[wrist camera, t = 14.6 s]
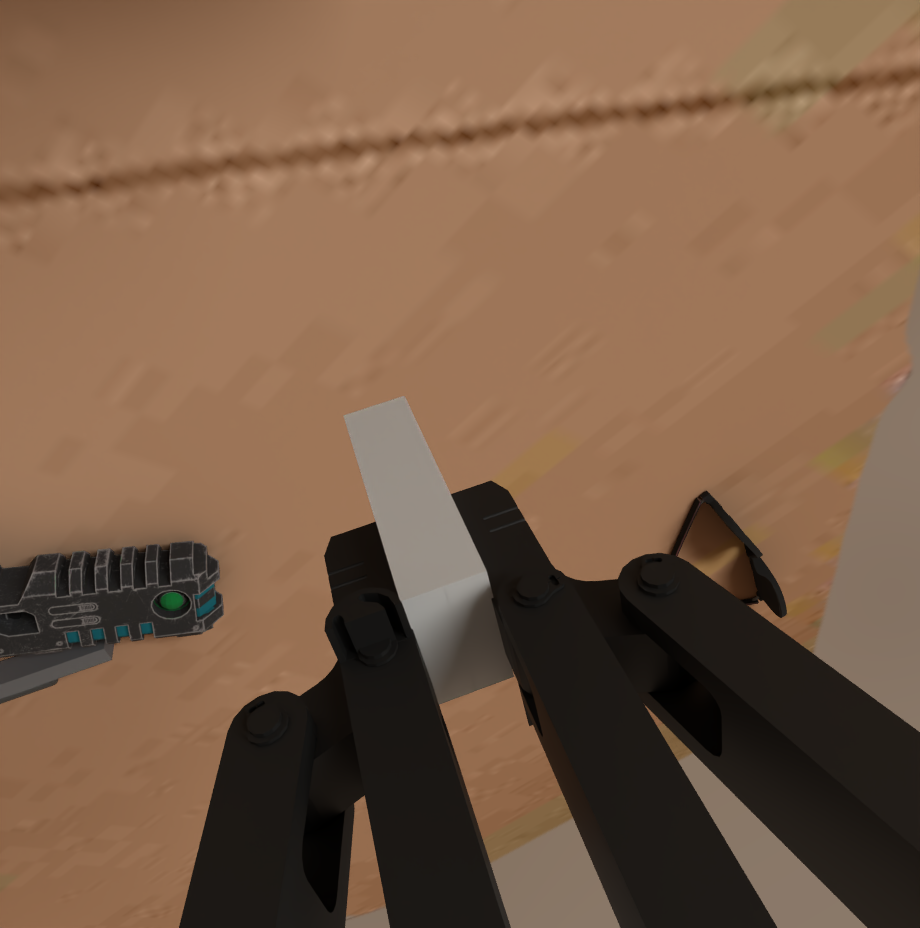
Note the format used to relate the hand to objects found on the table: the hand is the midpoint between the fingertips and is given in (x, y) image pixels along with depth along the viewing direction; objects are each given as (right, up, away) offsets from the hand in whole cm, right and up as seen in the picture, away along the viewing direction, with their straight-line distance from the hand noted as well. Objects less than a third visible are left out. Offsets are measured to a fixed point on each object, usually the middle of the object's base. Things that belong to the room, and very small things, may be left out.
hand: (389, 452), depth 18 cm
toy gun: (-24, -4, +29) cm, 38 cm away
